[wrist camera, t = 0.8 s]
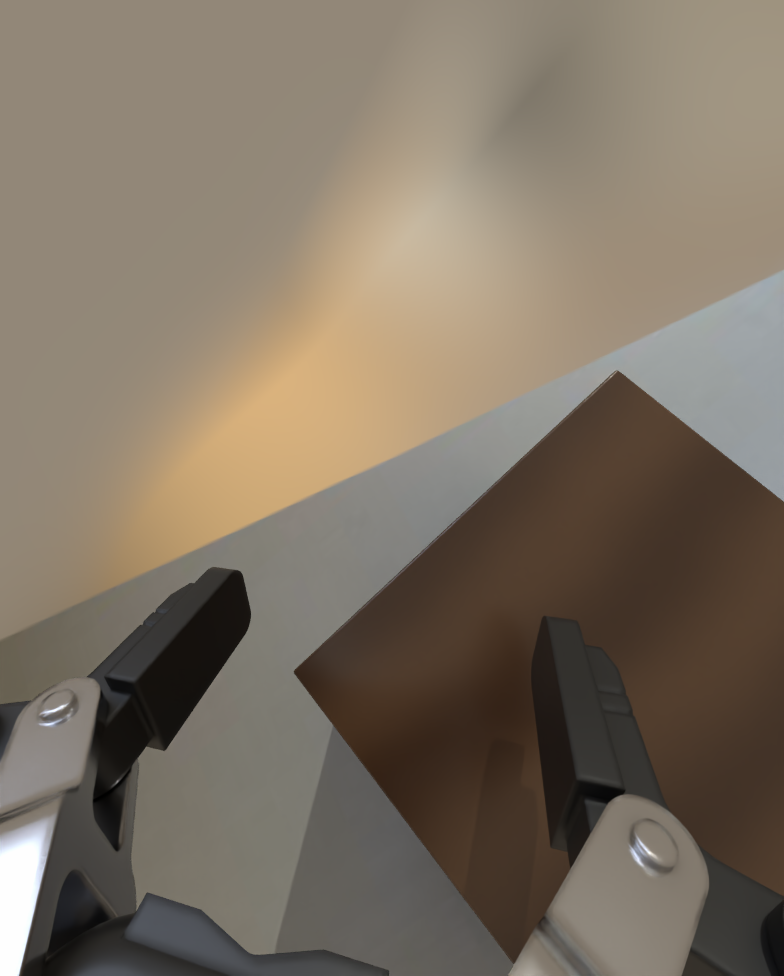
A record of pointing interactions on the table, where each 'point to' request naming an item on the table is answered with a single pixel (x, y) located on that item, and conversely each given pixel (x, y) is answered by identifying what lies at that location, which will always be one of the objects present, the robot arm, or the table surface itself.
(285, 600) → the table surface
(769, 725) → the cubby
